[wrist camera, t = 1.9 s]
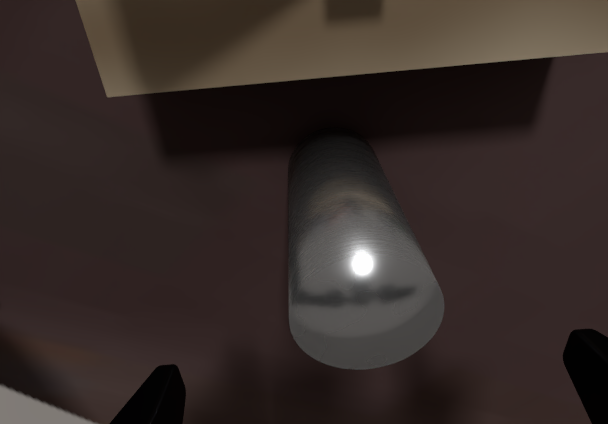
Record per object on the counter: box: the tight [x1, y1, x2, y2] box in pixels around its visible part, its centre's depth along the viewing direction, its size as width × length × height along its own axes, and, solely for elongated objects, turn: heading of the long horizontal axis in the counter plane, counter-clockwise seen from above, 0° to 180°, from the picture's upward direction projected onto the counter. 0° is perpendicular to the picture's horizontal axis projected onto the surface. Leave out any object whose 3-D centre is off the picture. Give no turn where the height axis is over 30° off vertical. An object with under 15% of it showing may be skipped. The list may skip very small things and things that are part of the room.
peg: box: [288, 128, 444, 370], centre depth 14 cm, size 4×4×9 cm
